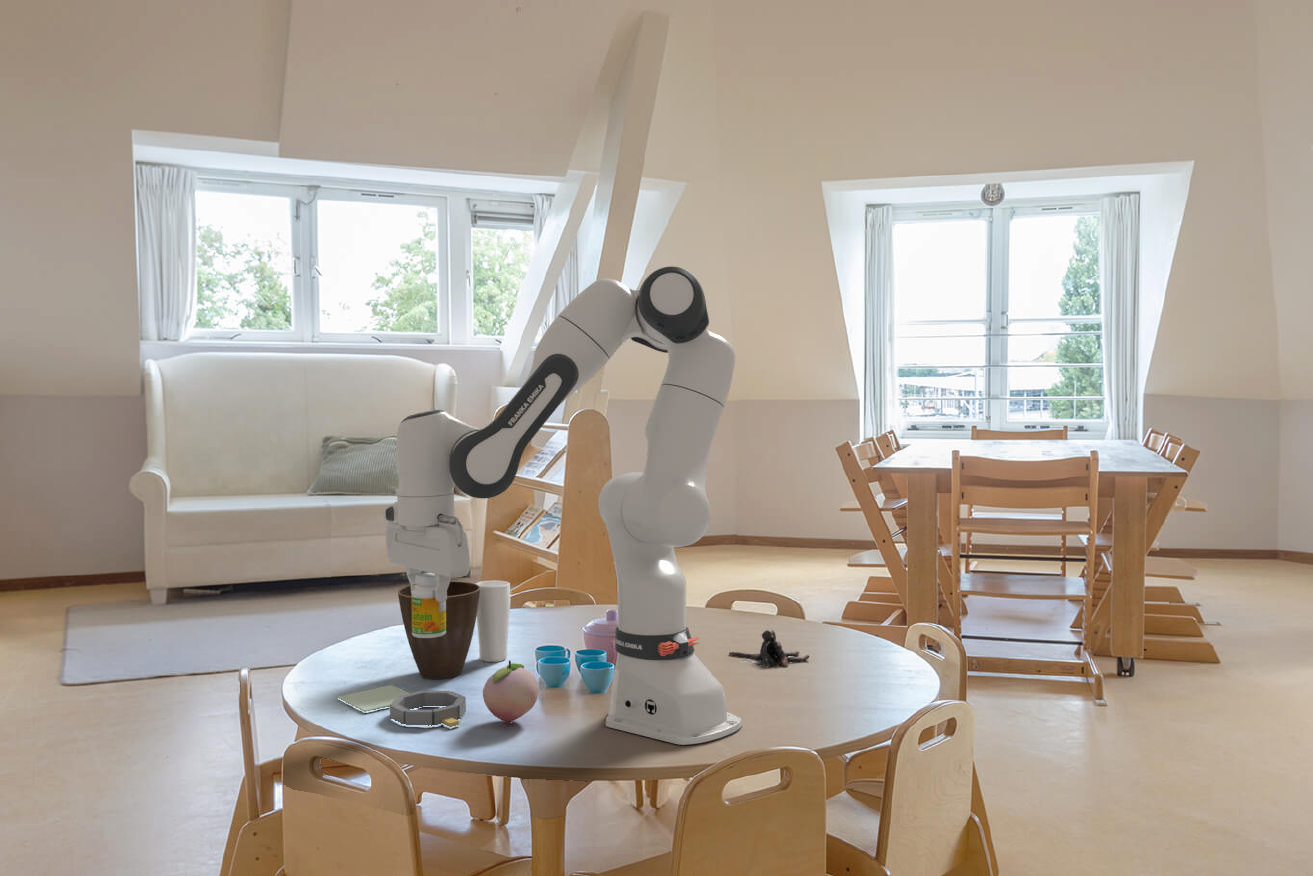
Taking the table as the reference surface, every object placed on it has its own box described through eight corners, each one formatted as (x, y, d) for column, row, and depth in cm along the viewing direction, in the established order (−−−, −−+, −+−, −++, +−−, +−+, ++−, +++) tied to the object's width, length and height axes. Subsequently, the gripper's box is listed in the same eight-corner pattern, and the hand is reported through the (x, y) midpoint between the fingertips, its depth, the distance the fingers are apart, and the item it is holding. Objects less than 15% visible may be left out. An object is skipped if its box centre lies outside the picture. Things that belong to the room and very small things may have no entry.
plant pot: (440, 690, 173) (439, 600, 173) (381, 677, 181) (380, 591, 181) (497, 670, 186) (497, 586, 185) (439, 659, 194) (439, 578, 193)
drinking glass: (514, 655, 197) (513, 580, 196) (506, 664, 190) (505, 587, 190) (481, 654, 198) (480, 579, 197) (471, 663, 191) (470, 586, 190)
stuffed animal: (815, 661, 189) (764, 627, 187) (786, 704, 189) (735, 670, 187) (799, 645, 201) (751, 613, 199) (772, 685, 200) (724, 653, 199)
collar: (485, 720, 158) (484, 704, 157) (422, 736, 150) (422, 720, 150) (433, 698, 169) (433, 683, 169) (373, 712, 161) (373, 697, 161)
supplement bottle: (405, 637, 157) (405, 577, 157) (421, 630, 162) (420, 571, 162) (437, 639, 156) (436, 578, 155) (451, 631, 161) (451, 572, 161)
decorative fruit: (528, 734, 151) (528, 670, 150) (477, 731, 152) (476, 667, 152) (545, 715, 160) (545, 654, 160) (497, 712, 161) (496, 651, 161)
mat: (419, 701, 167) (419, 697, 167) (364, 714, 161) (364, 710, 161) (391, 688, 175) (391, 685, 175) (337, 700, 168) (337, 696, 168)
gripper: (478, 515, 153) (481, 604, 153) (412, 505, 167) (414, 586, 168) (443, 519, 148) (445, 611, 149) (378, 509, 163) (380, 592, 164)
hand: (428, 597), depth 159 cm, fingers closed on supplement bottle, 5 cm apart
